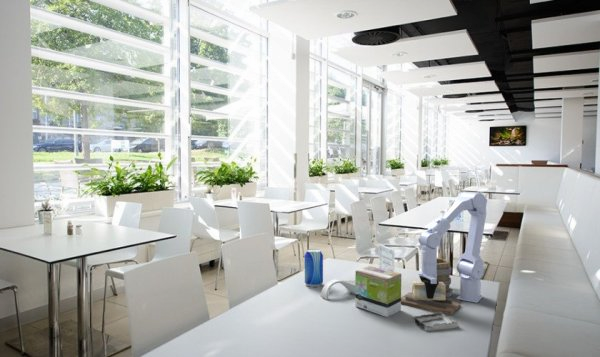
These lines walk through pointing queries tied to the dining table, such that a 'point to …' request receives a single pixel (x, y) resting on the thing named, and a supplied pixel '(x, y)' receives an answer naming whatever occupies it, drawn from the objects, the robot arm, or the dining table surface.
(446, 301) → the walnut ledge
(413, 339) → the dining table surface
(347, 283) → the white curved piece
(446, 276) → the tankard
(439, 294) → the pale wooden bar
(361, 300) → the tea box
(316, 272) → the beer can
